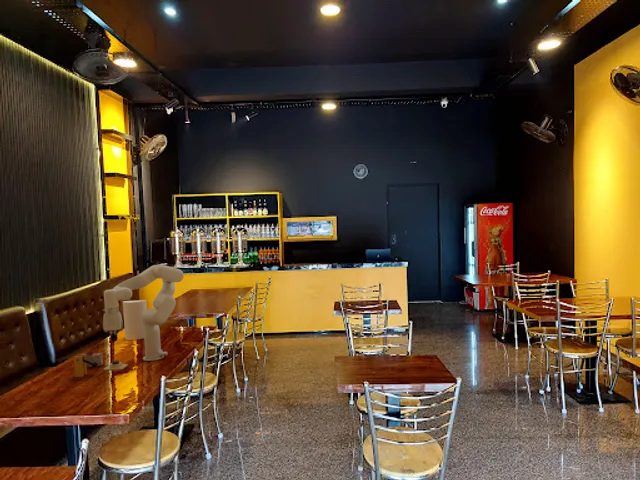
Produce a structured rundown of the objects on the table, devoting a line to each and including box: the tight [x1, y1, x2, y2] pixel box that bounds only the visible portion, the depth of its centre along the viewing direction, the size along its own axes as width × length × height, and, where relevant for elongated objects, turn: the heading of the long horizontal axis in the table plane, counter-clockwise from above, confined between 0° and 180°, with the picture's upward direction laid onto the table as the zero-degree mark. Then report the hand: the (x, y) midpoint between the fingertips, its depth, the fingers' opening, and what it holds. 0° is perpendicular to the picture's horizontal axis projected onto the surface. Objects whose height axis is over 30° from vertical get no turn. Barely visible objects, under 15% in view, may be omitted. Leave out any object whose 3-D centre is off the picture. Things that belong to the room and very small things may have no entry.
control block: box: [103, 361, 129, 372], centre depth 294 cm, size 11×9×4 cm
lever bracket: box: [73, 353, 88, 378], centre depth 281 cm, size 10×8×13 cm
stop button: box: [111, 359, 120, 365], centre depth 294 cm, size 4×4×2 cm
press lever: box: [78, 354, 99, 369], centre depth 281 cm, size 12×3×3 cm, turn 92°
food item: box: [84, 350, 104, 368], centre depth 302 cm, size 14×8×10 cm, turn 93°
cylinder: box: [122, 299, 148, 341], centre depth 381 cm, size 17×17×28 cm
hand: (114, 341), depth 295 cm, fingers closed
